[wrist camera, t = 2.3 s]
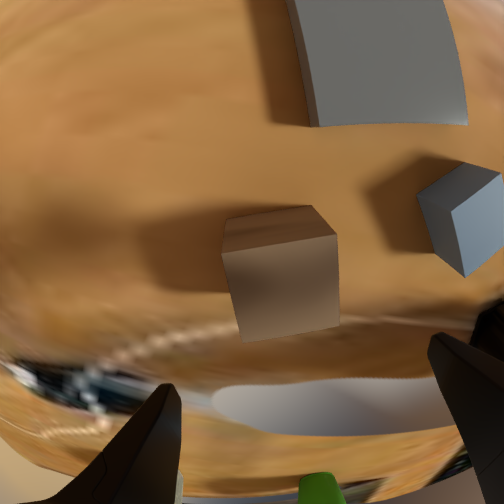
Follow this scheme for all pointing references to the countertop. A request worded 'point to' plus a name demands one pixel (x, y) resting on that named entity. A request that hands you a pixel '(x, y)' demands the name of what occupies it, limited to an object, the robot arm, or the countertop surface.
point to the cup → (319, 490)
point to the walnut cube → (282, 273)
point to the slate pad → (378, 62)
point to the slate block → (465, 216)
